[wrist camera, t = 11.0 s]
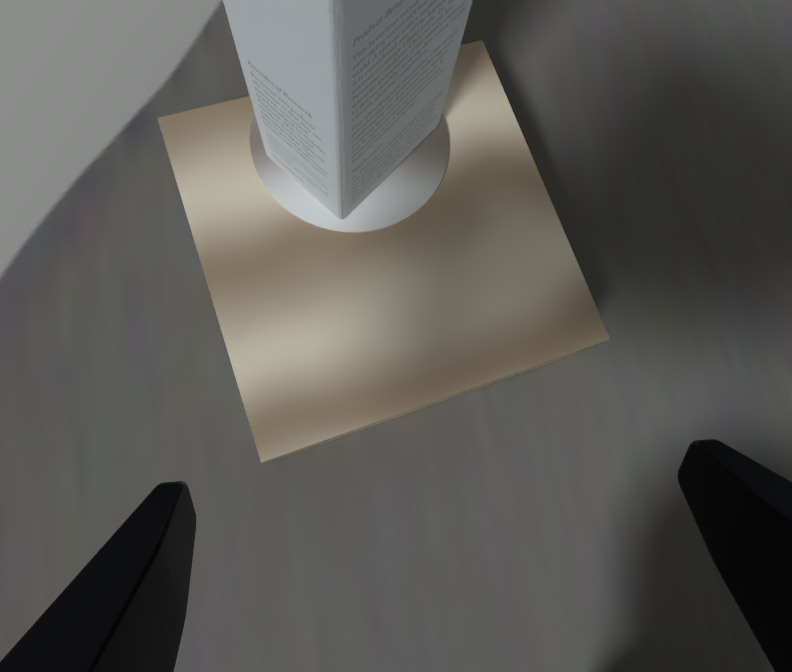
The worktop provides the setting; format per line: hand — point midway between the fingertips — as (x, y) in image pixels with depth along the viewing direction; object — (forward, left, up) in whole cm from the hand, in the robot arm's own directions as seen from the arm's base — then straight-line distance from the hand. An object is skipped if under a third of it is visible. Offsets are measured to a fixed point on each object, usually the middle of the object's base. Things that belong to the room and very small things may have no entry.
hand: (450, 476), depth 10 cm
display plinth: (+9, -3, -14) cm, 16 cm away
